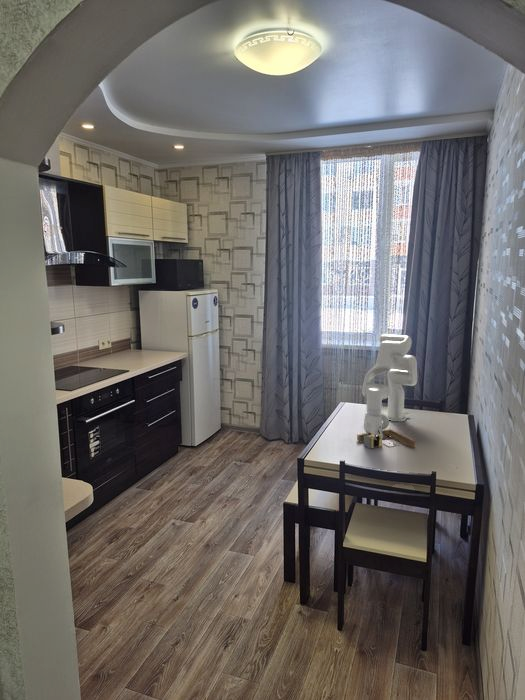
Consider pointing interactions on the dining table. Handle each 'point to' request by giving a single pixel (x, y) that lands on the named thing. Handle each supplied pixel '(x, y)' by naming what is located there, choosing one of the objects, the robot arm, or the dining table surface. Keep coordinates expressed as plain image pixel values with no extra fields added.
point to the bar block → (371, 441)
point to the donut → (384, 421)
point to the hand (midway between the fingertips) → (372, 444)
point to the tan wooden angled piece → (394, 435)
